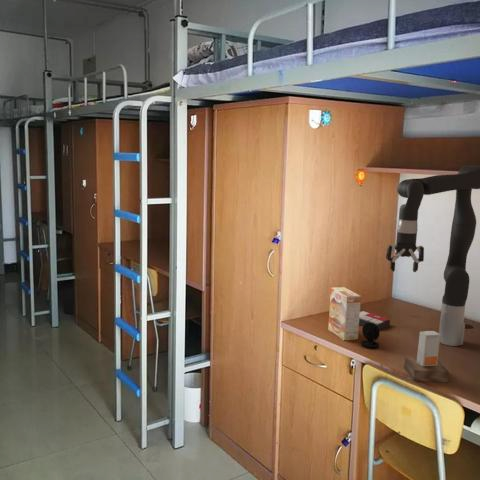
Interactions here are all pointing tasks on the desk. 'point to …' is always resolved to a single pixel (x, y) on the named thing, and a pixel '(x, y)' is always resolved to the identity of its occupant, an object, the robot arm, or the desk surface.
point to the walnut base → (425, 371)
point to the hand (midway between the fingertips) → (403, 271)
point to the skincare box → (428, 348)
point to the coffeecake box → (344, 313)
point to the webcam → (370, 335)
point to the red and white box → (373, 320)
